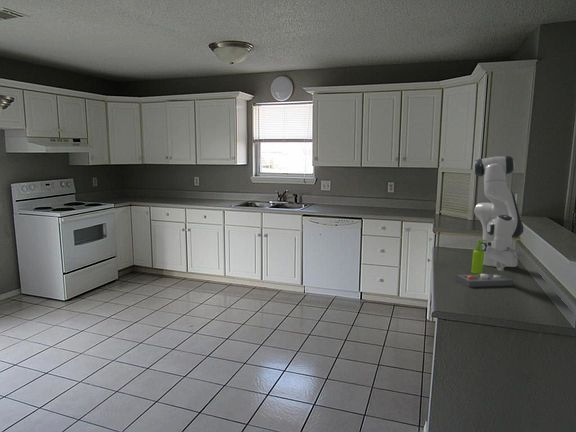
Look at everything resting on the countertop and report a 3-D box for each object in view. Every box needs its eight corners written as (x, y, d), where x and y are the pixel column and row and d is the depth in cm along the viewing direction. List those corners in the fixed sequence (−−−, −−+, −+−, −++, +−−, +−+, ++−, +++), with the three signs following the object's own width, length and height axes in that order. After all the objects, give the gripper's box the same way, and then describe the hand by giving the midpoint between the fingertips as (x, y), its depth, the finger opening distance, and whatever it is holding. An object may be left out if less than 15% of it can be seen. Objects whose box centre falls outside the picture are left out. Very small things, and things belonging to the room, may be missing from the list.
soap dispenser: (485, 274, 239) (488, 241, 236) (472, 273, 240) (475, 240, 237) (482, 272, 245) (485, 239, 242) (470, 271, 246) (473, 238, 243)
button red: (471, 280, 224) (472, 275, 224) (476, 283, 220) (476, 277, 220) (464, 281, 223) (465, 275, 223) (469, 283, 219) (469, 277, 219)
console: (497, 278, 232) (497, 273, 231) (512, 285, 220) (513, 280, 219) (455, 280, 227) (456, 274, 226) (468, 286, 215) (469, 281, 215)
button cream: (484, 278, 225) (485, 273, 225) (489, 281, 222) (490, 275, 221) (478, 279, 225) (478, 273, 224) (483, 281, 221) (483, 275, 220)
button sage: (497, 280, 227) (498, 274, 227) (502, 282, 223) (503, 277, 223) (491, 280, 226) (491, 275, 226) (496, 282, 222) (496, 277, 222)
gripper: (521, 249, 212) (519, 275, 215) (494, 241, 232) (492, 264, 234) (511, 250, 211) (508, 276, 213) (484, 241, 231) (482, 265, 233)
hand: (499, 270), depth 224 cm, fingers closed
